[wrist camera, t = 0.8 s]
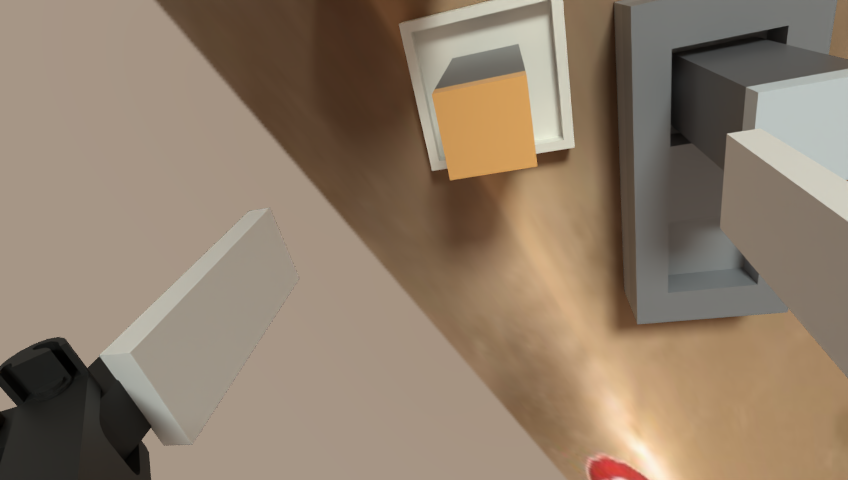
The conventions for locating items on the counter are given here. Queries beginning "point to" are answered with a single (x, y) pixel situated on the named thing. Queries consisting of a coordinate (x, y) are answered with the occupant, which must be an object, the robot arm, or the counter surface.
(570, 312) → the counter surface
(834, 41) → the counter surface
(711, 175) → the grey socket block
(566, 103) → the tray
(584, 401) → the counter surface
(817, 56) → the twin plug
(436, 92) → the plug
